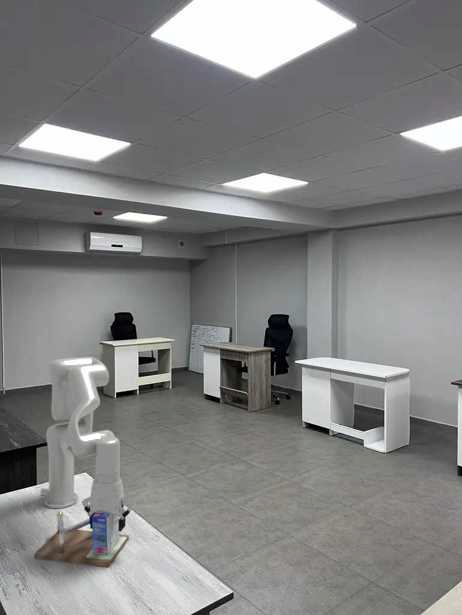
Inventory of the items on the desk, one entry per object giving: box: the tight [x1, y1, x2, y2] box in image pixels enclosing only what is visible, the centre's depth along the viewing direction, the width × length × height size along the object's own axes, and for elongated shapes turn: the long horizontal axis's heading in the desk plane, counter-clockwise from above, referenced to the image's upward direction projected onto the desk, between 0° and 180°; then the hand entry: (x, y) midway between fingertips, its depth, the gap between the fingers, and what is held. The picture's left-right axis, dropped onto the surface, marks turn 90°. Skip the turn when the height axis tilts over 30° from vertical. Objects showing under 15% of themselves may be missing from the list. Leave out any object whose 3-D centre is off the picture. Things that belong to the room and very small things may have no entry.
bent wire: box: [56, 511, 90, 553], centre depth 152 cm, size 15×13×7 cm
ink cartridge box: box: [91, 513, 120, 555], centre depth 149 cm, size 10×6×14 cm, turn 172°
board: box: [34, 527, 130, 568], centre depth 151 cm, size 25×16×2 cm, turn 81°
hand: (107, 528), depth 149 cm, fingers open, 9 cm apart
